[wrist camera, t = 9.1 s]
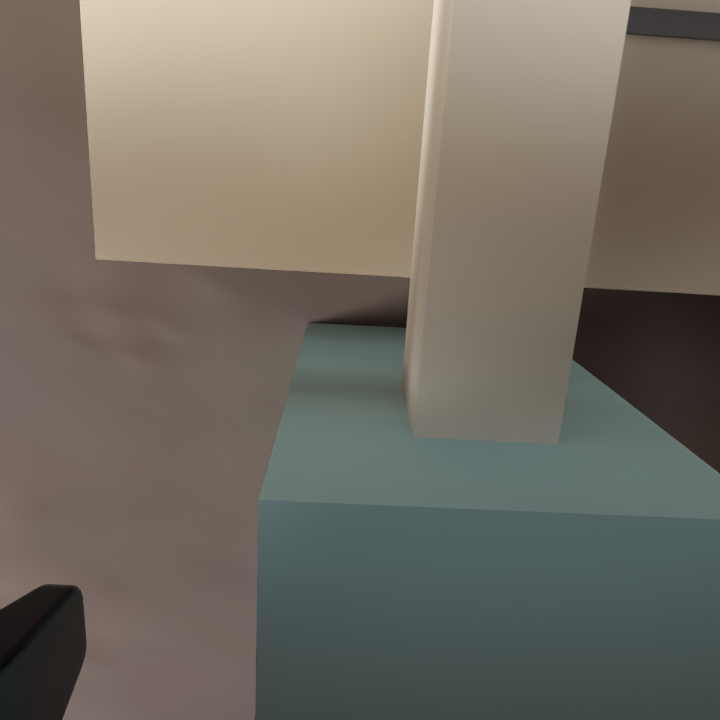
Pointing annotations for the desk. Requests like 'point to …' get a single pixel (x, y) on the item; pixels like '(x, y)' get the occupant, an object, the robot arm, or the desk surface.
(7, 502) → the desk surface
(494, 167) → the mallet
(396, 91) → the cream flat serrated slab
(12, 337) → the desk surface
